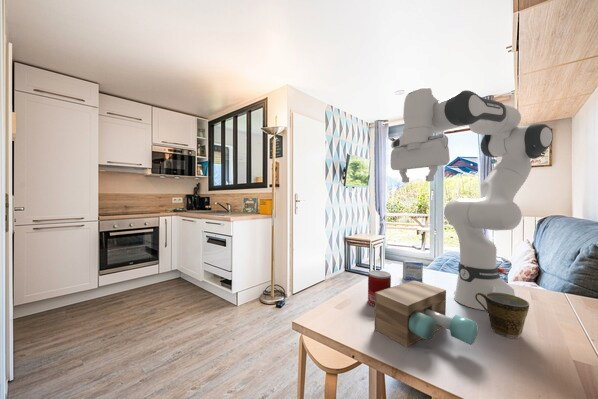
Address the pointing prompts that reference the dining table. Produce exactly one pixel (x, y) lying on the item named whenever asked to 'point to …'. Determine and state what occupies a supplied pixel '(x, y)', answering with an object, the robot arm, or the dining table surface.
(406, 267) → the medicine box
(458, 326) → the knob
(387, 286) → the canned food
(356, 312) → the dining table surface
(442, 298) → the block
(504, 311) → the ceramic cup
